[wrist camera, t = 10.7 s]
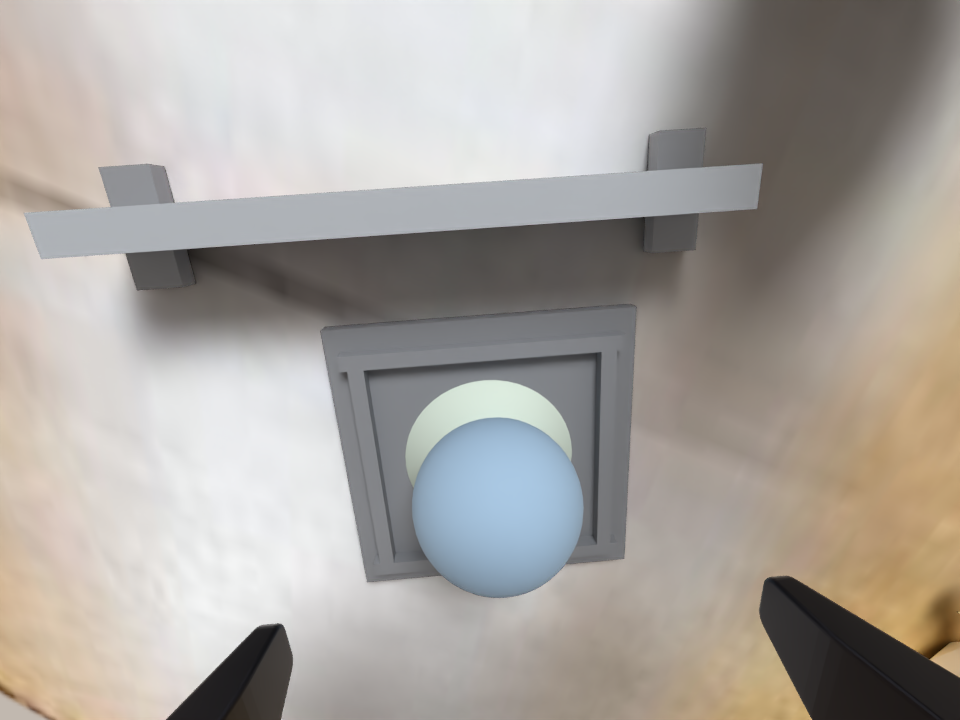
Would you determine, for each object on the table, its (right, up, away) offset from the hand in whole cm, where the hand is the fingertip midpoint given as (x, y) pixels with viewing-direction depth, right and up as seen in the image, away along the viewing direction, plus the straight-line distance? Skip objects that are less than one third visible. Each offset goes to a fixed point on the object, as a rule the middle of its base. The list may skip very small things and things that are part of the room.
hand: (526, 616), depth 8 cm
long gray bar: (-3, +10, +8) cm, 13 cm away
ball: (-1, +1, +10) cm, 10 cm away
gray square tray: (-1, +1, +11) cm, 11 cm away
